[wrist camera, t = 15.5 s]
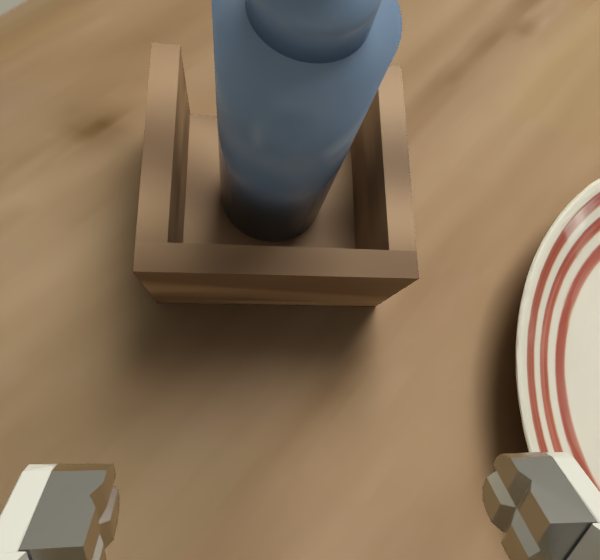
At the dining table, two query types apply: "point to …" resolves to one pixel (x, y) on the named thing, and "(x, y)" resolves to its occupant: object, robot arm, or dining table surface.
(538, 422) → the dinner plate
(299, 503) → the dining table surface
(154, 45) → the holder
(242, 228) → the bottle
